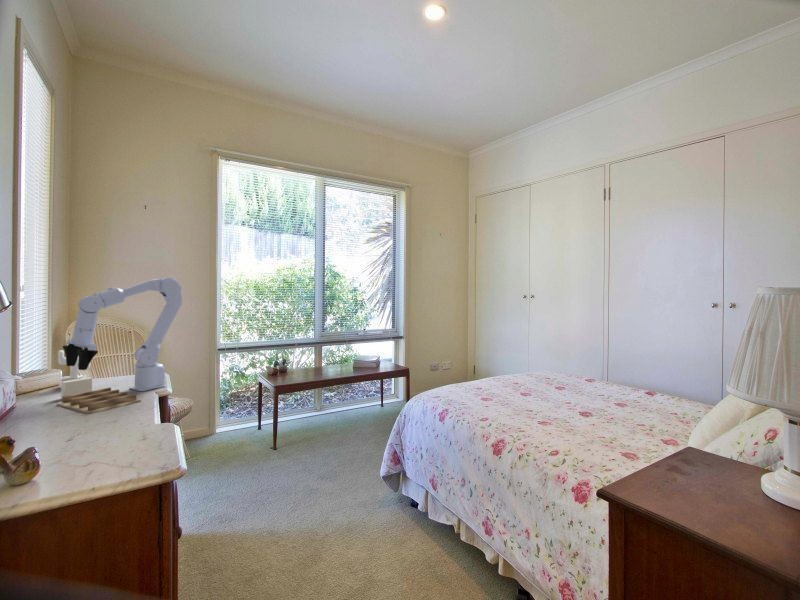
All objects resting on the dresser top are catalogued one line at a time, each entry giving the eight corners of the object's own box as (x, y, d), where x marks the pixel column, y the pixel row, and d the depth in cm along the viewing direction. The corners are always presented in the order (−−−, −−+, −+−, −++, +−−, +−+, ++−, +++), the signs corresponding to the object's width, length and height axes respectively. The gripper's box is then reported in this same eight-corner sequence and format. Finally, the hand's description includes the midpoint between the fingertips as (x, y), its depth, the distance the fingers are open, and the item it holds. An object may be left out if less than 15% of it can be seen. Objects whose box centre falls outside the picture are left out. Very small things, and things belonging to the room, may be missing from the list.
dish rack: (110, 393, 141) (110, 386, 141) (141, 401, 134) (141, 393, 134) (57, 404, 127) (57, 396, 127) (87, 414, 119) (87, 405, 119)
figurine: (89, 387, 148) (90, 348, 148) (57, 390, 143) (57, 350, 142) (89, 383, 154) (90, 345, 154) (58, 386, 148) (58, 347, 148)
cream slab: (87, 393, 141) (88, 377, 140) (91, 394, 140) (92, 378, 139) (61, 398, 133) (61, 381, 133) (64, 400, 132) (65, 382, 132)
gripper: (60, 325, 136) (51, 364, 135) (82, 331, 130) (74, 371, 129) (83, 327, 142) (75, 364, 141) (105, 332, 136) (97, 371, 135)
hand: (76, 367), depth 135 cm, fingers open, 7 cm apart
